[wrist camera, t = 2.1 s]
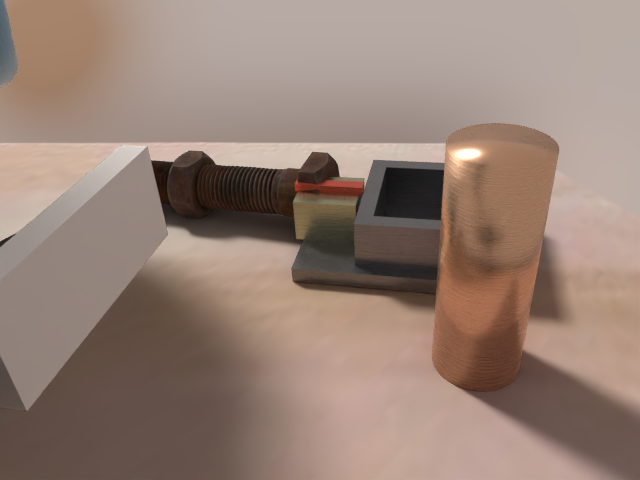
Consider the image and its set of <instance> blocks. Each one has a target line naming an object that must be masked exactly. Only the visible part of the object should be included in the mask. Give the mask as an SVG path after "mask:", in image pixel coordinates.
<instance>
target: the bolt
mask: <svg viewBox="0 0 640 480" xmlns="http://www.w3.org/2000/svg"><path fill="white" fill-rule="evenodd" d="M151 163H152V167H153V172H154V176H155V180H156V184H157V189H158V193H159V197H160V201H161V203H162V204H170V205H172V207H173V208H174V209H175V210H176V211H177V212H178V213H179V214H181V215H182V216H184V217H185V218H193V219H200V218H202V217H204V216H205V215H207V214H208V213H209V212H210V211H211V210H212V209H213V208H214V209H224V210H232V211H233V210H235V211H246V212H247V211H248V212H257V213H267V214H278V215H283V216H285V217H294V209H293V201H294V199H295V197H296V195H297V193H298V191H295V182H296V180H297V182H301V183H309V184H319V183H320V182H321V181H322V180H328V178H329V177H340V176H339V169H338V165H337V163H336V161H335V160H334V159H333V158H332V157H331V156H330V155H329V154H328V153H322V152H312V153H311V155H310V156H309V157H308V159H307V160H306V162H305V163H304V164H303V166H302V167H301V169H292V168H287V169H284V170H283V169H279V170H278V169H268V168H266V169H265V168H256V167H243V166H241V167H239V166H236V167H235V166H221V165H216V164H215V163H214V161H213V160H212V159H211V158H210V157H209V156H208V155H207V154H205V153H204V152H203V151H188V152H186V153H184V154H182V155H181V156H179V157H178V158H177V159H176V160H175V161H174V162H165V161H163V162H162V161H151ZM302 192H310V193H319V190H318V189H314V190H307V191H302Z"/></svg>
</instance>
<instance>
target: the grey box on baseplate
mask: <svg viewBox="0 0 640 480" xmlns="http://www.w3.org/2000/svg"><path fill="white" fill-rule="evenodd" d="M444 167H445V163H430V162H408V161H385V160H373V164H372V167H371V170H370V173H369V177H368V180H367V183H366V186H365V190H364V178H345V177H329V178H328V180H322V181H321V182H320V183H319V184H309V183H301V182H297V180H296V182H295V191H298V193H297V195H296V197H295V199H294V201H293V209H294V220H295V231H296V239H304V240H303V242H302V245H301V247H300V249H299V252H298V254H297V257H296V259H295V261H294V264H293V266H292V278H293V281H296V282H307V283H318V284H330V285H341V286H352V287H363V288H375V289H386V290H397V291H409V292H420V293H431V294H436V286H437V271H438V256H439V241H440V227H441V212H442V197H443V182H444ZM314 189H318V190H319V193H310V192H302V191H307V190H314Z"/></svg>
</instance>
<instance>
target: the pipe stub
mask: <svg viewBox="0 0 640 480" xmlns="http://www.w3.org/2000/svg"><path fill="white" fill-rule="evenodd" d="M558 154H559V146H558V144H557V143H556V141H555V140H553V138H551V137H550V136H548V135H547V134H545V133H543V132H540V131H538V130H535V129H532V128H528V127H524V126H519V125H512V124H500V123H497V124H496V123H494V124H480V125H473V126H469V127H466V128H462V129H460V130H457V131H456V132H454V133H452V134H451V135H450V136H449V137H448V139H447V141H446V152H445V167H444V182H443V197H442V212H441V227H440V241H439V256H438V271H437V286H436V301H435V316H434V331H433V346H432V360H433V364H434V366H435V368H436V370H437V371H438V372H439V373H440V375H442V376H443V377H444V378H445V379H446V380H447V381H449V382H451V383H452V384H454V385H456V386H459V387H461V388H465V389H468V390H474V391H491V390H496V389H500V388H502V387H505V386H506V385H508V384H510V383H511V382H512V381H513V380H514V379H515V378H516V376H517V375H518V372H519V368H520V363H521V358H522V352H523V347H524V341H525V336H526V330H527V325H528V319H529V314H530V308H531V303H532V297H533V292H534V286H535V281H536V275H537V270H538V264H539V259H540V253H541V248H542V242H543V237H544V231H545V226H546V220H547V215H548V209H549V204H550V198H551V193H552V187H553V182H554V176H555V171H556V165H557V159H558Z"/></svg>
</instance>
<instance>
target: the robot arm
mask: <svg viewBox="0 0 640 480" xmlns="http://www.w3.org/2000/svg"><path fill="white" fill-rule="evenodd" d="M17 68H18V61H17V55H16V51H15V46H14V41H13V36H12V32H11V27H10V23H9V18H8V14H7V9H6V4H5V0H0V87H3V86H5V85H7V84H8V83H10V82H11V81H12V79H13V78H14V76H15V75H16V72H17ZM167 235H168V231H167V227H166V223H165V219H164V214H163V210H162V206H161V201H160V197H159V193H158V189H157V184H156V180H155V176H154V172H153V167H152V163H151V159H150V155H149V150H148V146H128V145H121V146H120V147H119V148H118V149H116V150H115V151H114V152H113V153H112V154H110V155H109V156H108V157H107V158H106V159H104V160H103V161H102V162H101V163H100V164H99V165H97V166H96V167H95V168H94V169H93V170H91V171H90V172H89V173H88V174H87V175H85V176H84V177H83V178H82V179H81V180H80V181H78V182H77V183H76V184H75V185H74V186H72V187H71V188H70V189H69V190H68V191H66V192H65V193H64V194H63V195H62V196H61V197H59V198H58V199H57V200H56V201H55V202H53V203H52V204H51V205H50V206H49V207H47V208H46V209H45V210H44V211H43V212H41V213H40V214H39V215H38V216H37V217H36V218H34V219H33V220H32V221H31V222H30V223H28V224H27V225H26V226H25V227H24V228H22V229H21V230H20V231H19V232H18V233H16V234H14V235H12V236H10V237H8V238H6V239H4V240H2V241H0V408H7V409H14V410H21V411H28V410H29V408H30V407H31V406H32V405H33V403H34V402H35V401H36V400H37V398H38V397H39V396H40V395H41V393H42V392H43V391H44V390H45V388H46V387H47V386H48V385H49V383H50V382H51V381H52V380H53V378H54V377H55V376H56V375H57V373H58V372H59V371H60V369H61V368H62V367H63V366H64V364H65V363H66V362H67V361H68V359H69V358H70V357H71V356H72V354H73V353H74V352H75V351H76V349H77V348H78V347H79V346H80V344H81V343H82V342H83V341H84V339H85V338H86V337H87V336H88V334H89V333H90V332H91V331H92V329H93V328H94V327H95V326H96V324H97V323H98V322H99V321H100V319H101V318H102V317H103V316H104V314H105V313H106V312H107V310H108V309H109V308H110V307H111V305H112V304H113V303H114V302H115V300H116V299H117V298H118V297H119V295H120V294H121V293H122V292H123V290H124V289H125V288H126V287H127V285H128V284H129V283H130V282H131V280H132V279H133V278H134V277H135V275H136V274H137V273H138V272H139V270H140V269H141V268H142V267H143V265H144V264H145V263H146V262H147V260H148V259H149V258H150V257H151V255H152V254H153V253H154V252H155V250H156V249H157V248H158V246H159V245H160V244H161V243H162V241H163V240H164V239H165V238H166V236H167Z"/></svg>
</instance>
